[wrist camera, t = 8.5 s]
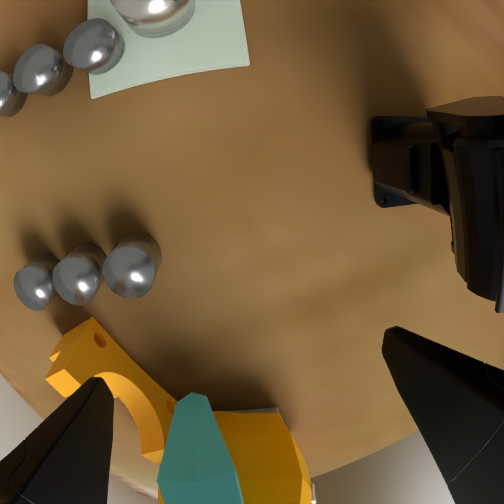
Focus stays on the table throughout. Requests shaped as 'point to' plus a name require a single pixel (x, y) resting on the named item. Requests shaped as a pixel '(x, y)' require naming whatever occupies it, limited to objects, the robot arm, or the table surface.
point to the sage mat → (174, 46)
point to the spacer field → (84, 255)
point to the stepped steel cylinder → (155, 15)
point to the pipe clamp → (114, 381)
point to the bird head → (231, 458)
